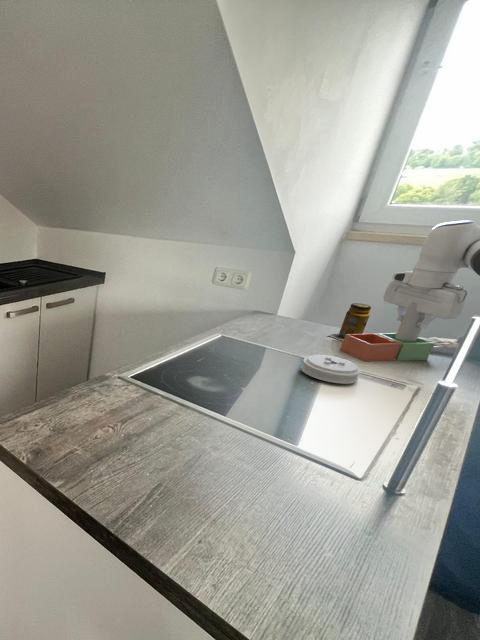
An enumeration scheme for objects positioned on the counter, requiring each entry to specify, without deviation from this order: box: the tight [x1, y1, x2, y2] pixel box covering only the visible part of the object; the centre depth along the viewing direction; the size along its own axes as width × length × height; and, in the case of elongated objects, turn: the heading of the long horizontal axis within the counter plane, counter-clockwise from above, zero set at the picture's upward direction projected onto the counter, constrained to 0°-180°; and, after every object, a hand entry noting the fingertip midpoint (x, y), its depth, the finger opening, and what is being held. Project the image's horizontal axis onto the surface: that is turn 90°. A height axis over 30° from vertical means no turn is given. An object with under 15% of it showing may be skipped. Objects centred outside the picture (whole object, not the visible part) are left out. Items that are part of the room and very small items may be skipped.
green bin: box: [376, 332, 435, 362], centre depth 122 cm, size 9×9×6 cm
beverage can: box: [395, 302, 425, 342], centre depth 118 cm, size 5×5×12 cm
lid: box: [300, 354, 362, 384], centre depth 109 cm, size 13×13×5 cm
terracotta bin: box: [339, 332, 401, 362], centre depth 122 cm, size 9×9×6 cm
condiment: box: [328, 302, 372, 342], centre depth 134 cm, size 7×8×12 cm
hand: (410, 324), depth 119 cm, fingers closed on beverage can, 5 cm apart
